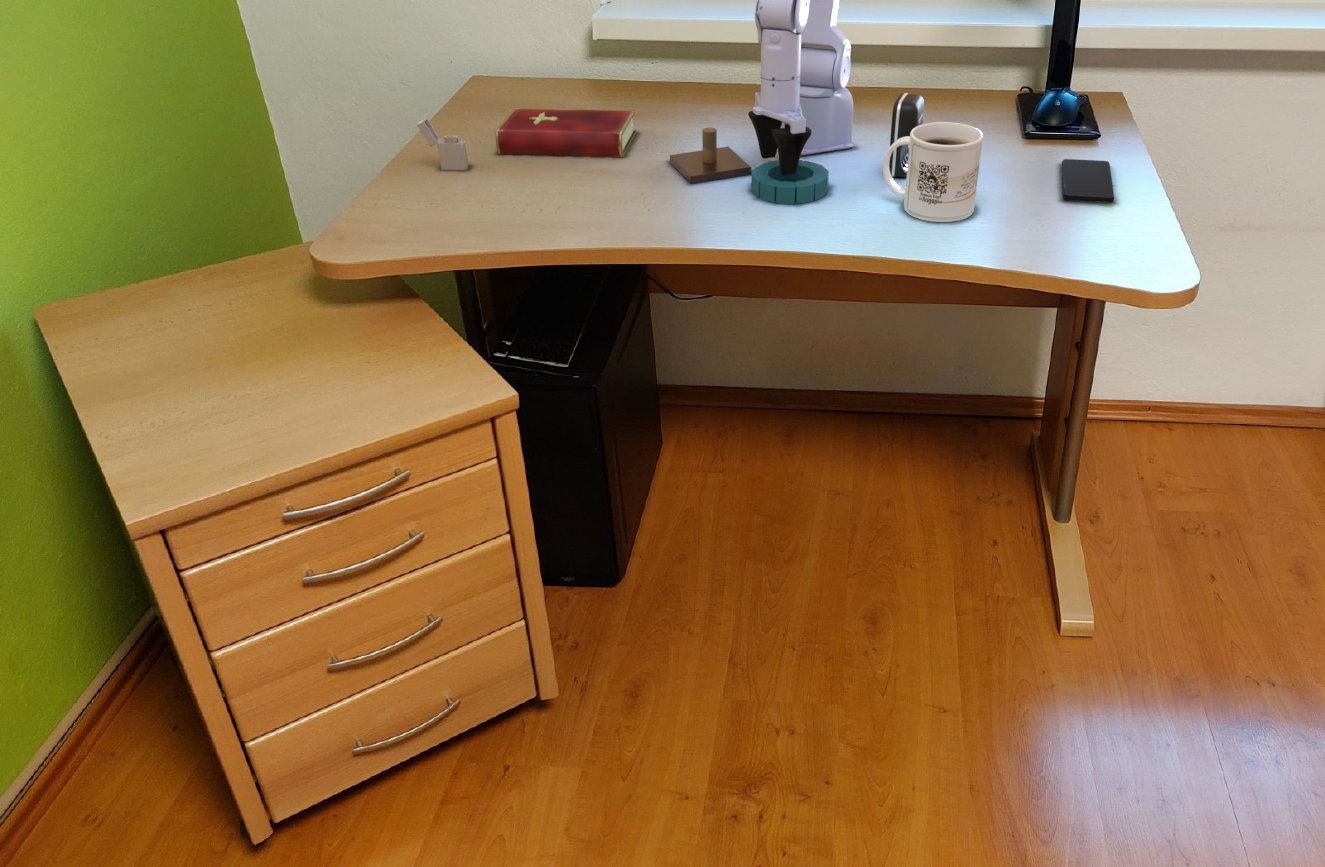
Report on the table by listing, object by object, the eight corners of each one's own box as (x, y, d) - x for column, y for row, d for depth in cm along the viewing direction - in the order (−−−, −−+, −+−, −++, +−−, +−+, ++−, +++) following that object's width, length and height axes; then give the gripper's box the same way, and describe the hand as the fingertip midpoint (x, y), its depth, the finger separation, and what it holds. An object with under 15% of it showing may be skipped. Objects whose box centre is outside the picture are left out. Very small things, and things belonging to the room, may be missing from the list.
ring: (808, 171, 176) (809, 155, 174) (840, 197, 167) (840, 180, 165) (741, 182, 173) (741, 165, 172) (769, 208, 164) (769, 191, 163)
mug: (929, 229, 156) (936, 151, 150) (876, 200, 165) (881, 126, 159) (988, 213, 160) (998, 136, 154) (933, 186, 169) (941, 113, 163)
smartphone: (1063, 195, 162) (1062, 158, 174) (1062, 201, 163) (1061, 163, 175) (1114, 198, 160) (1109, 160, 172) (1113, 203, 161) (1108, 166, 173)
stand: (728, 153, 184) (728, 115, 180) (751, 174, 176) (751, 135, 172) (669, 162, 181) (668, 124, 178) (690, 183, 173) (689, 144, 170)
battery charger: (911, 180, 171) (918, 105, 165) (886, 178, 172) (892, 103, 166) (920, 164, 177) (927, 91, 170) (895, 162, 178) (902, 89, 171)
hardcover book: (622, 158, 183) (621, 132, 181) (497, 154, 187) (494, 129, 184) (636, 133, 193) (634, 108, 191) (517, 130, 196) (514, 106, 194)
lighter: (468, 166, 183) (462, 117, 178) (465, 170, 181) (458, 121, 177) (426, 165, 184) (419, 116, 179) (423, 169, 182) (415, 120, 178)
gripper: (736, 65, 170) (736, 153, 177) (774, 92, 158) (772, 185, 165) (780, 60, 171) (778, 147, 179) (820, 86, 160) (816, 178, 167)
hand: (778, 165), depth 172 cm, fingers open, 7 cm apart
